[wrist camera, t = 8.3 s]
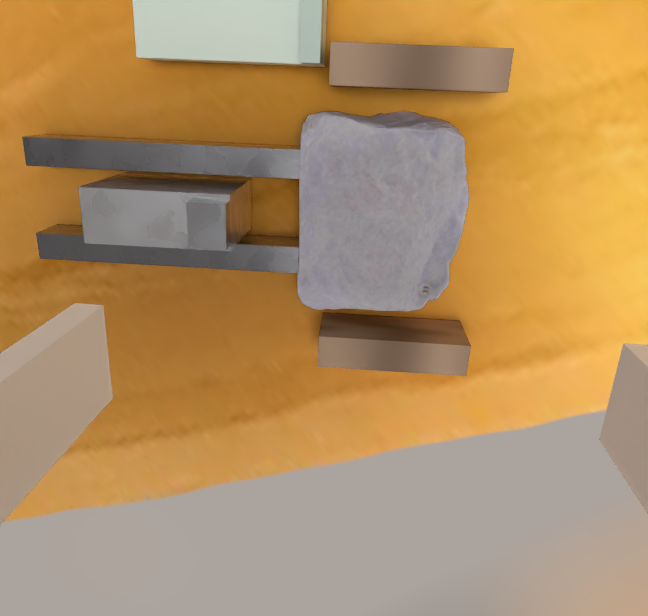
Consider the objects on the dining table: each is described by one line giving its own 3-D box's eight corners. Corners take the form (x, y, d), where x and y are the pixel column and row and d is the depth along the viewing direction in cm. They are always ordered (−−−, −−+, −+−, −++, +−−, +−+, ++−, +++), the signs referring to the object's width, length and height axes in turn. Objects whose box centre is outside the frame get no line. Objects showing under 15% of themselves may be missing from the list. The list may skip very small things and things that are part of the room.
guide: (60, 248, 37) (39, 258, 35) (45, 134, 34) (22, 136, 32) (302, 261, 36) (297, 273, 34) (305, 146, 34) (301, 149, 31)
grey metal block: (127, 220, 36) (75, 247, 29) (123, 172, 35) (68, 190, 28) (251, 227, 36) (226, 256, 29) (251, 179, 35) (225, 197, 28)
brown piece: (322, 340, 38) (317, 366, 34) (334, 48, 32) (330, 41, 28) (456, 348, 38) (466, 376, 34) (495, 54, 31) (513, 48, 28)
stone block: (455, 109, 34) (291, 107, 33) (486, 115, 30) (299, 112, 29) (436, 291, 39) (292, 295, 38) (461, 319, 34) (299, 325, 33)
